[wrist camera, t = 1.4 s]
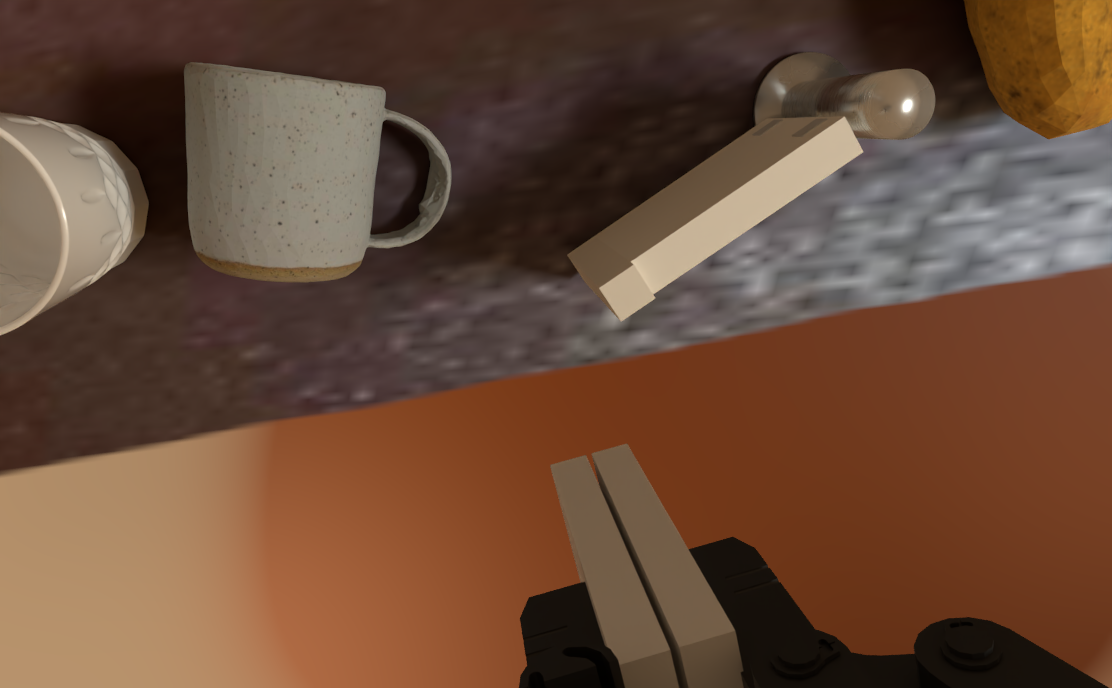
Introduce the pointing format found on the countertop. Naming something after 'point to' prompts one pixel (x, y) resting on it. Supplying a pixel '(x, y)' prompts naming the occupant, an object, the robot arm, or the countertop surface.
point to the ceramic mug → (291, 173)
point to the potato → (1047, 60)
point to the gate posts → (846, 96)
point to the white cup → (61, 213)
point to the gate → (711, 207)
